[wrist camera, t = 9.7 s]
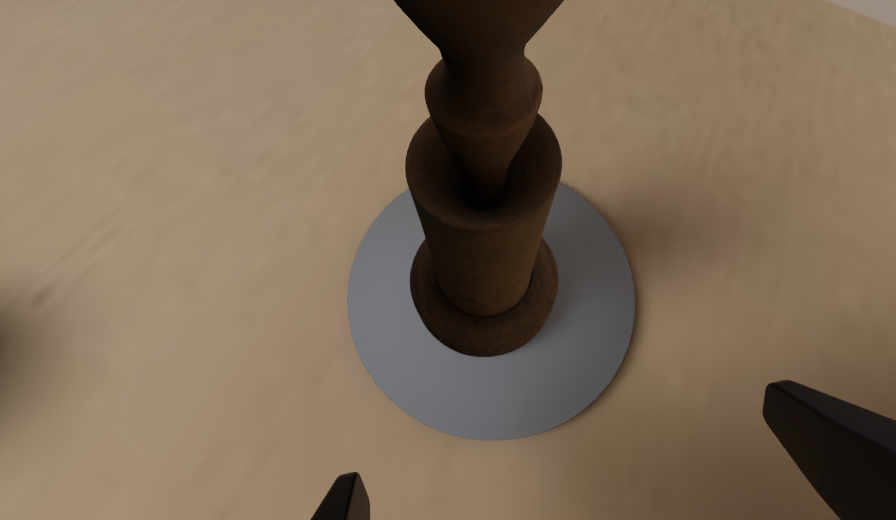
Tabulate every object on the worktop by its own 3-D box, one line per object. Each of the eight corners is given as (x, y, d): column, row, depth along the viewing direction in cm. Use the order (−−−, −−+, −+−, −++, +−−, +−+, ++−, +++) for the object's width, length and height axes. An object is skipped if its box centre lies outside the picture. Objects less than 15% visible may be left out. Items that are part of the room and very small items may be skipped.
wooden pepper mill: (522, 214, 22) (648, -446, 5) (574, 331, 20) (1092, -184, 3) (401, 253, 22) (126, -308, 5) (438, 377, 19) (155, 100, 3)
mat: (683, 273, 21) (692, 266, 20) (512, 512, 18) (513, 517, 17) (469, 133, 25) (468, 122, 24) (298, 309, 22) (290, 304, 21)
